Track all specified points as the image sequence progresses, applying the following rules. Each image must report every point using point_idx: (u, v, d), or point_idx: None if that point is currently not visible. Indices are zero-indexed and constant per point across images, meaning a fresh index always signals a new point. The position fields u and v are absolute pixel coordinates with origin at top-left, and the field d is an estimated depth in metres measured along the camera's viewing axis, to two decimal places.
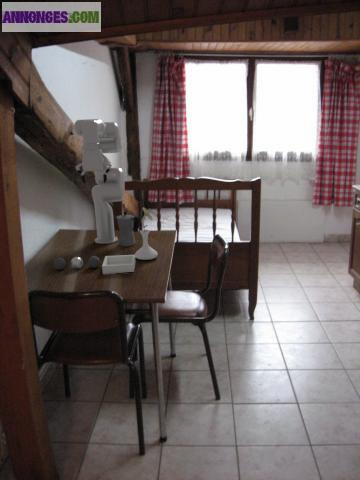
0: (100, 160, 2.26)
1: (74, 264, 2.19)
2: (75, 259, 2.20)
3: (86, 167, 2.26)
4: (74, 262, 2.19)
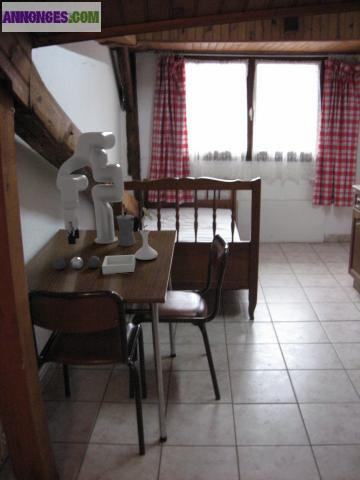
0: None
1: (74, 264, 2.19)
2: (75, 259, 2.20)
3: (76, 226, 2.13)
4: (74, 262, 2.19)
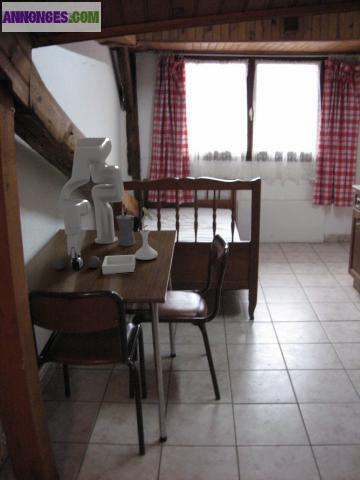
0: None
1: None
2: None
3: (79, 251, 2.17)
4: None
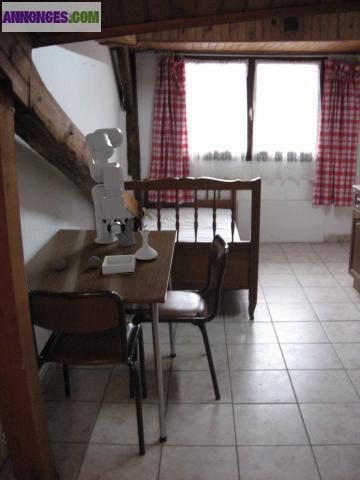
0: None
1: (121, 227, 2.14)
2: (119, 223, 2.14)
3: None
4: (121, 225, 2.14)
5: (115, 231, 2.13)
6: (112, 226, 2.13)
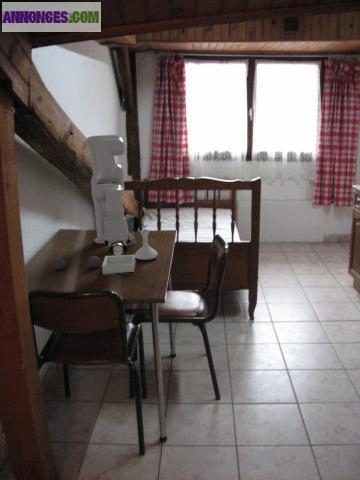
0: None
1: (123, 249, 2.17)
2: (121, 244, 2.17)
3: None
4: (123, 247, 2.17)
5: (117, 252, 2.15)
6: (114, 247, 2.15)
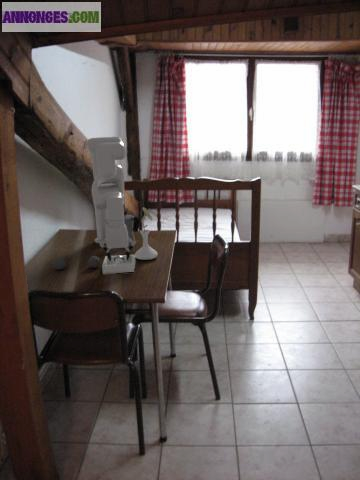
0: None
1: (124, 261, 2.19)
2: (122, 256, 2.19)
3: None
4: (124, 259, 2.19)
5: (118, 264, 2.17)
6: (115, 260, 2.17)
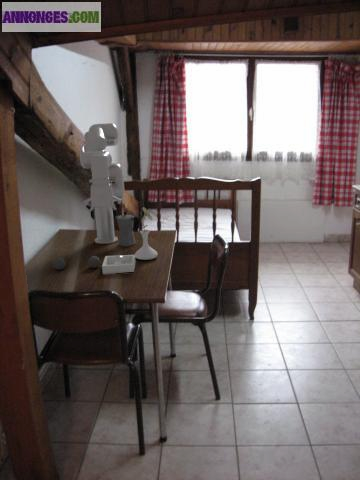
0: None
1: (124, 261, 2.19)
2: (122, 256, 2.19)
3: None
4: (124, 259, 2.19)
5: None
6: (115, 260, 2.17)
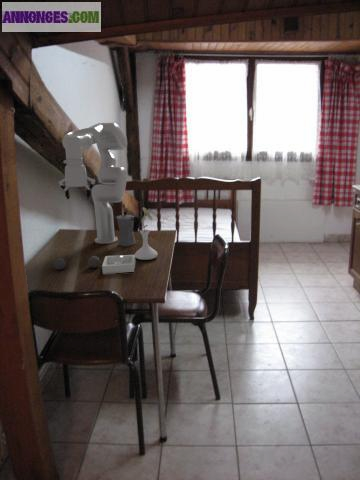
0: None
1: None
2: (122, 257, 2.19)
3: None
4: (124, 259, 2.19)
5: None
6: (115, 260, 2.17)
